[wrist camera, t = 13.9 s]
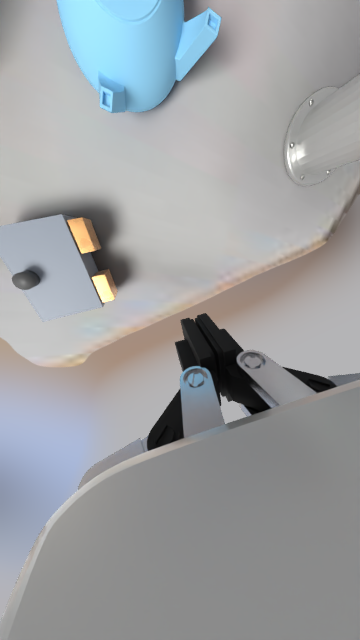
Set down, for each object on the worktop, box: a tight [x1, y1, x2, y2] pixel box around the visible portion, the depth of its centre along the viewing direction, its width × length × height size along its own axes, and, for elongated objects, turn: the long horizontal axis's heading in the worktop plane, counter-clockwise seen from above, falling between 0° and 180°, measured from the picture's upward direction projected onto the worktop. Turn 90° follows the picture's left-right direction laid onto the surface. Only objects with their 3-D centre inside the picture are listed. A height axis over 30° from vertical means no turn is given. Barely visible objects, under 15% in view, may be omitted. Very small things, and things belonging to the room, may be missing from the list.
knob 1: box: [67, 217, 101, 253], centre depth 27 cm, size 12×4×5 cm, turn 101°
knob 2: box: [92, 269, 118, 302], centre depth 30 cm, size 12×4×5 cm, turn 101°
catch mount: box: [0, 214, 105, 322], centre depth 28 cm, size 10×14×8 cm
